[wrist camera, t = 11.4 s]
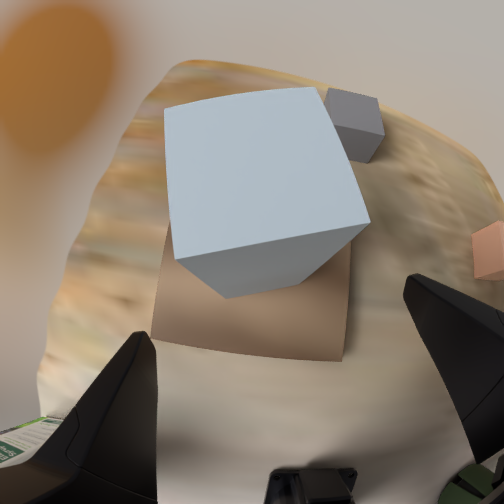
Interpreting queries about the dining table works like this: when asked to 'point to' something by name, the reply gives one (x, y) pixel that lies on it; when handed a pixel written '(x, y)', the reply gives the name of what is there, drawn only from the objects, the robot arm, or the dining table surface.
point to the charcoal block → (355, 123)
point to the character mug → (469, 486)
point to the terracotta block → (489, 252)
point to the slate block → (258, 189)
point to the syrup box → (25, 440)
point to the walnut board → (255, 313)
